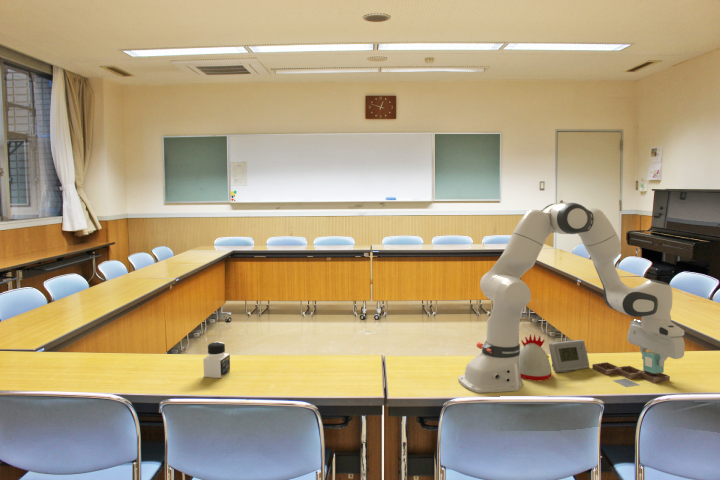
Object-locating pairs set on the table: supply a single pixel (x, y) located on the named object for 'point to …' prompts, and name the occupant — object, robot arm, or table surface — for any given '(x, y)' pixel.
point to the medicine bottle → (216, 361)
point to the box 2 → (629, 372)
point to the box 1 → (606, 368)
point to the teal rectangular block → (652, 362)
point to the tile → (626, 382)
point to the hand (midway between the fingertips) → (652, 362)
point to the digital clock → (568, 355)
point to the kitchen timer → (534, 360)
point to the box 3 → (655, 377)
